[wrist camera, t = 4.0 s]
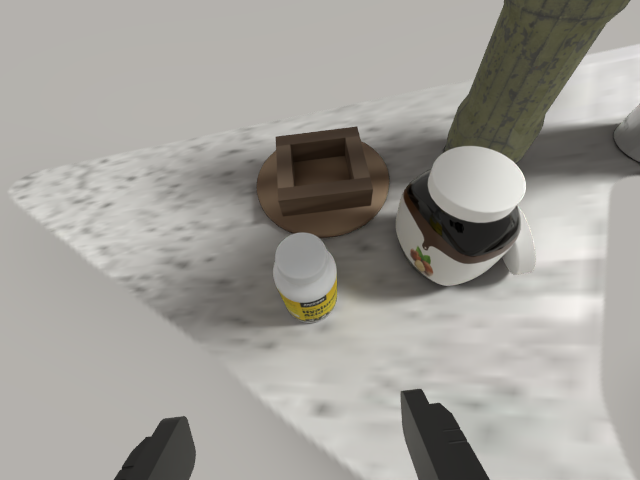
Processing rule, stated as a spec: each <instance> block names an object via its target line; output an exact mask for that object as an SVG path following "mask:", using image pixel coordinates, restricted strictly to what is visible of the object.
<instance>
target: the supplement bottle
mask: <svg viewBox="0 0 640 480" xmlns="http://www.w3.org/2000/svg"><path fill="white" fill-rule="evenodd" d="M273 278H274V282H275V285H276V287H277V289H278V291H279V293H280V295H281V297H282V299H283V301H284V303H285V306H286V308H287V310H288V311H289V313H290V314H291V315H292V316H293V317H294V318H296V319H297V320H299V321H302V322H306V323H314V322H318V321H321V320H323V319H325V318H326V317H327V316H328V315H329V314H330V313H331V312H332V311H333V309H334V307H335V305H336V301H337V269H336V263H335V260H334V258H333V256H332V255H331V254H330V252H329V251H328V250H327V249H326V247H325V245H324V243H323V242H322V240H321V239H320V238H318V237H317V236H315V235H313V234H310V233H295V234H292V235H290V236H288V237H286V238H285V239H284V240H282V241H281V243H280V244H279V245H278V247H277V249H276V253H275V264H274V267H273Z"/></svg>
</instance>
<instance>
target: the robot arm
mask: <svg viewBox="0 0 640 480" xmlns="http://www.w3.org/2000/svg"><path fill="white" fill-rule="evenodd" d="M614 140H615V142H616V144H617V145H618V147H619V148H620V149H621V150H622V151H623V152H624V153H625V154H627V155H628V156H630V157H631V158H633V159H634V160H636V161H638V162H640V104H639V105H638V106H637V107H636V108H635V109H634V110H633V111H632V112H631V113H630V114H629V115H628V116H627V117H626V118H625V120H624V121H623V122H622V123H621V124H620V125H619V126H618V127H617V128H616V130H615V132H614ZM401 411H402V426H403V432H404V437H405V441H406V444H407V447H408V450H409V453H410V456H411V459H412V462H413V465H414V468H415V471H416V473H417V476H418V479H419V480H490V479H489V477H488V476H487V474H486V472H485V471H484V469H483V467H482V465H481V464H480V462H479V460H478V458H477V457H476V455H475V453H474V451H473V450H472V448H471V446H470V444H469V443H468V442H467V439H466V437H465V436H464V434H463V432H462V431H461V430H460V427H459V425H458V423H457V422H456V420H455V418H454V416H453V415H452V413H450V412H449V411H448V410H447V409H446V408H445V407H444V406H443V405H441V404H440V403H434V404H429V402H428V400H427V398H426V396H425V394H424V392H423V391H422V389H414V390H406V391H401ZM195 456H196V451H195V446H194V442H193V438H192V435H191V431H190V427H189V424H188V420H187V418H186V417H185V416H183V417H174V418H165V419H163V420H162V421H161V422H160V423H159V425H158V426H157V428H156V430H155V432H154V433H153V435H152V436H151V437H146V438H145V439H144V440H143V441H142V442H141V443H140V444H139V445H138V446H137V447H136V448H135V449H134V450H133V451H132V452H131V454H130V455H129V457H128V458H127V460H126V461H125V463H124V465H123V466H122V470H120V471H119V472H118V474H117V476H116V477H115V479H114V480H189V478H190V476H191V473H192V471H193V468H194V463H195Z"/></svg>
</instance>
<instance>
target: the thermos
mask: <svg viewBox="0 0 640 480" xmlns="http://www.w3.org/2000/svg"><path fill="white" fill-rule="evenodd" d="M629 1H630V0H504V6H503V8H502V11H501V13H500V16H499V18H498V21H497V24H496V26H495V29H494V31H493V34H492V36H491V39H490V41H489V44H488V46H487V49H486V52H485V54H484V57H483V59H482V62H481V64H480V67H479V69H478V72H477V74H476V77H475V79H474V82H473V85H472V87H471V90H470V92H469V94H468V95H467V97H466V98H465V99H464V100H463V101H462V103H461V104H460V106H459V107H458V110H457V112H456V115H455V118H454V120H453V123H452V126H451V128H450V131H449V134H448V139H447V144H446V146H445V148H444V150H443V153H444V152H446V151H448V150H450V149H453V148H456V147H462V146H478V147H484V148H488V149H491V150H494V151H497V152H499V153H501V154H503V155H505V156H506V157H508V158H509V159H511V160H512V161H513V162H514V163H515V164H516V163H517V162H519V161H520V160H521V159H522V157H523V156H524V154H525V153H526V151H527V150H528V148H529V147H530V146H531V144H532V143H533V141H534V140H535V138H536V137H537V136H538V134H539V133H540V130H541V128H542V126H543V123H544V118H545V114H546V112H547V111H548V109H549V108H550V106H551V105H552V104H553V102H554V101H555V99H556V98H557V96H558V95H559V93H560V92H561V90H562V89H563V87H564V86H565V84H566V83H567V81H568V80H569V78H570V77H571V75H572V74H573V72H574V71H575V69H576V68H577V66H578V65H579V63H580V62H581V60H582V59H583V57H584V56H585V54H586V53H587V51H588V50H589V48H590V47H591V46H592V44H593V43H594V41H595V40H596V38H597V37H598V35H599V34H600V32H601V31H602V29H603V28H604V26H605V25H606V23H607V22H609V21H610V20H611V19H612V18H613V17H614V16H616V15H617V14H618V13H619V12H621V11H622V10H623V9H624V8H625V7H626V6H627V4H628V3H629Z"/></svg>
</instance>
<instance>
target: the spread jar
mask: <svg viewBox="0 0 640 480" xmlns="http://www.w3.org/2000/svg"><path fill="white" fill-rule="evenodd" d="M525 191H526V182H525V178H524V175H523V173H522V171H521V170H520V169H519V167H518V166H517V165H516V164H515V163H514V162H513V161H512V160H511V159H509V158H508V157H506V156H505V155H503V154H501V153H499V152H497V151H494V150H491V149H488V148H484V147H478V146H462V147H456V148H453V149H450V150H448V151H446V152H444V153H442V154H441V155H440V156H439V157H438V158H437V159H436V161H435V162H434V164H433V167H432V169H430V170H428V171H426V172H425V173H423V174H421V175H420V176H419V177H417V178H416V179H414V180H413V181H412V182H411V183H410V184H409V185H408V186H407V187H406V189H405V190H404V192H403V194H402V197H401V200H400V204H399V208H398V212H397V216H396V233H397V237H398V240H399V243H400V246H401V248H402V251H403V253H404V255H405V257H406V258H407V260H408V261H409V263H410V264H411V265H412V266H413V268H414V269H415V270H417V271H418V272H419V273H420V274H421V275H423V276H424V277H426V278H427V279H429V280H430V281H432V282H434V283H437V284H440V285H445V286H451V285H457V284H461V283H464V282H467V281H469V280H472V279H474V278H476V277H478V276H479V275H481V274H482V273H484V272H485V271H487V270H488V269H489V268H491V267H492V266H493V265H494V264H495V263H496V262H497V261H498V260H499V259H500V258H501V257H502V258H503V260H504V263H505V265H506V267H507V268H508V270H509V271H510V272H511V273H512V274H513V275H519V274H526V273H531V272H533V271H534V269H535V265H536V252H535V245H534V240H533V236H532V233H531V229H530V227H529V224H528V222H527V219H526V217H525V215H524V214H523V212H522V211H521V209H520V208H519V207H518V205H517V204H518V203H519V202H520V201H521V199H522V198H523V196H524V194H525Z"/></svg>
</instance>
